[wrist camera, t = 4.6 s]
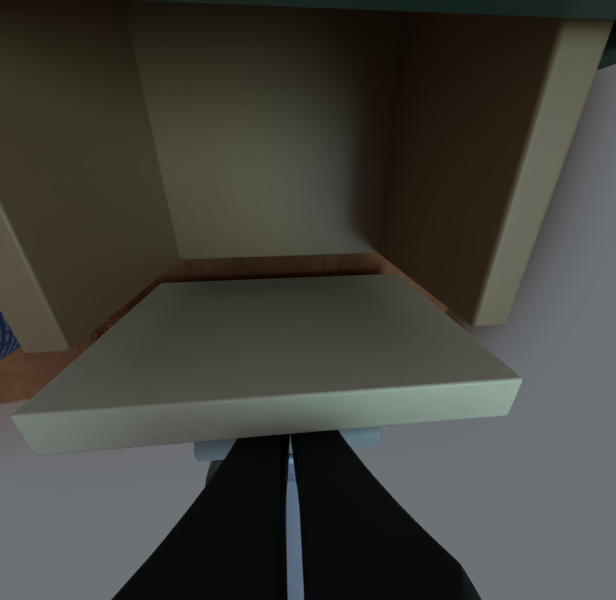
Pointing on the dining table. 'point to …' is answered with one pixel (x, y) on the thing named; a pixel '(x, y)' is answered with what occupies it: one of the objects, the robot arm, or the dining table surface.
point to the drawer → (272, 210)
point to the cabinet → (467, 10)
